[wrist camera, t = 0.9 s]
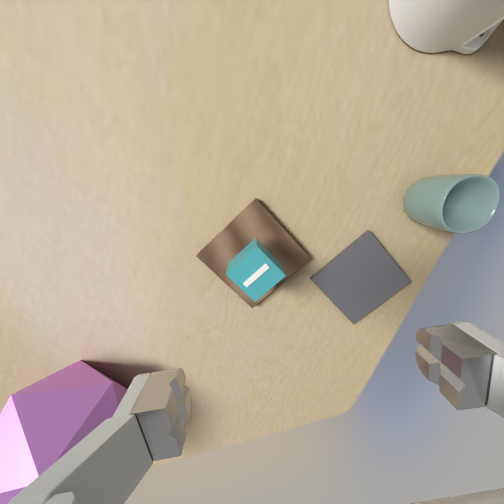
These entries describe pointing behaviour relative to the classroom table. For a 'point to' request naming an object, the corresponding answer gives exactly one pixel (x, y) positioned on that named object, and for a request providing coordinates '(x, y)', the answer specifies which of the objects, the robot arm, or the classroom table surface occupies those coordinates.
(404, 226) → the classroom table surface
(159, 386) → the robot arm
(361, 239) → the mat
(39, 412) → the icosahedron
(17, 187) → the classroom table surface
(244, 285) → the teal cube
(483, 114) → the classroom table surface
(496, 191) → the cup
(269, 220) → the post base
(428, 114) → the classroom table surface
